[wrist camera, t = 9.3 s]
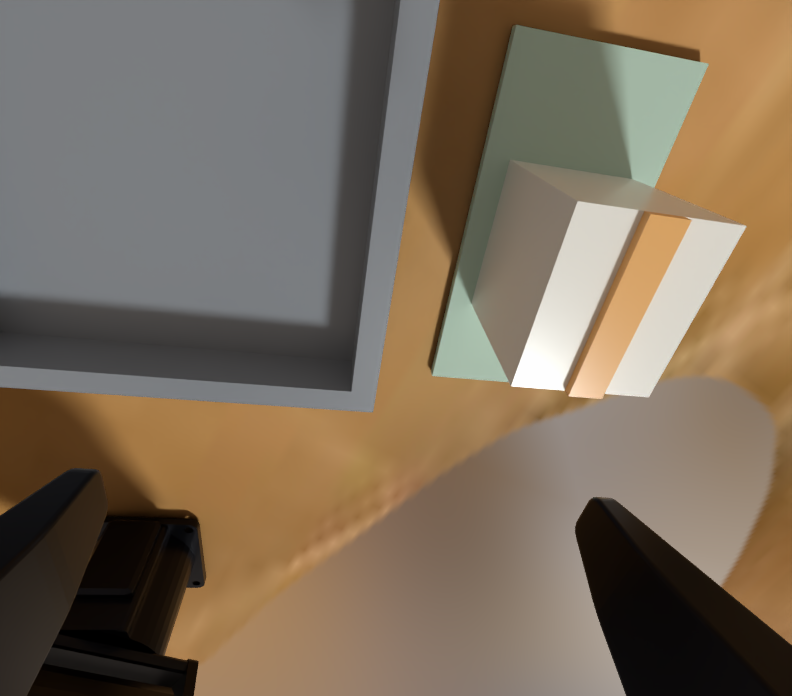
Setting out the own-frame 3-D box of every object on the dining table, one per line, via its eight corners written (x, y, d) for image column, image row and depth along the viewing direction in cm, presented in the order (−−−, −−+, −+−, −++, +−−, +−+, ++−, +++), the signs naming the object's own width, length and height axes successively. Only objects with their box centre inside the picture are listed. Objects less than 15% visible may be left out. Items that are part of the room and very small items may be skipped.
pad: (563, 382, 23) (566, 386, 23) (431, 371, 22) (432, 375, 22) (701, 64, 16) (708, 63, 15) (512, 25, 15) (516, 24, 14)
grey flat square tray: (370, 366, 22) (372, 412, 19) (-14, 334, 19) (-79, 381, 16) (450, -175, 12) (479, -248, 9) (-283, -370, 10) (-550, -551, 7)
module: (576, 315, 20) (653, 402, 15) (471, 303, 20) (513, 391, 14) (632, 178, 17) (754, 229, 12) (509, 159, 17) (582, 204, 11)
